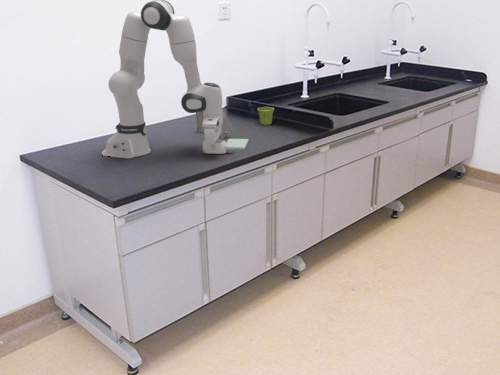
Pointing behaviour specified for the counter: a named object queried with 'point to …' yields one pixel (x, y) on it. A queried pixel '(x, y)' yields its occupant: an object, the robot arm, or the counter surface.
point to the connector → (217, 147)
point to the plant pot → (265, 115)
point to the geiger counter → (201, 129)
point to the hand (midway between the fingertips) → (214, 148)
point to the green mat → (238, 143)
